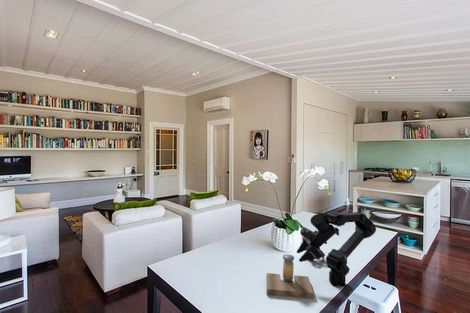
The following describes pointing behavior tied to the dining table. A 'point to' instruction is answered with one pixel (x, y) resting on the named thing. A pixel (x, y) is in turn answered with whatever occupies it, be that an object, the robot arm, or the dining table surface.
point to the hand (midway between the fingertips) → (298, 256)
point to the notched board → (289, 286)
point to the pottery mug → (322, 256)
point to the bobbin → (288, 268)
